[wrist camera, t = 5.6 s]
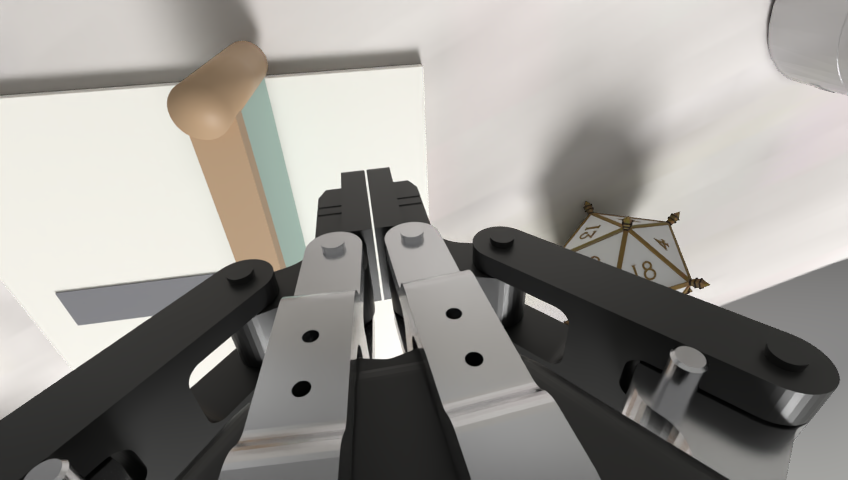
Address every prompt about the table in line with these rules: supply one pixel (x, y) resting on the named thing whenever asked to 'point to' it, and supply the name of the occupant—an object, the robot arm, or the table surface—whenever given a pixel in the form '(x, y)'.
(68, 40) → the table surface
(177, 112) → the tan and green panel
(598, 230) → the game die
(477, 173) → the table surface
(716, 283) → the table surface
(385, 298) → the robot arm
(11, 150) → the board
